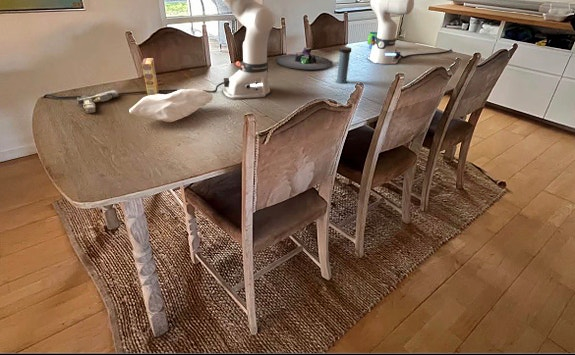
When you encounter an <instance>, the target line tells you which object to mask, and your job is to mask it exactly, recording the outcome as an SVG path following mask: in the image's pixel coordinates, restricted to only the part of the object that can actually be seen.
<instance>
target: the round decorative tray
mask: <svg viewBox="0 0 575 355" xmlns="http://www.w3.org/2000/svg"><path fill="white" fill-rule="evenodd" d="M275 62H276V63H277V64H278V65H280V66H282V67H287V68H291V69H296V70H297V69H298V70H306V71H307V70H308V71H309V70H323V69H327V68H330V67H332V66H333V64H334V63H333V61H332V60H329V59H328V58H326V57H320V56H317V55H314V54H312V48H311V47H307V46H305V47H304V48H303V49H302V52H301V53H298V52H296V53H295V54H289V55H283V56H278V57H276V59H275Z"/></svg>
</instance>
